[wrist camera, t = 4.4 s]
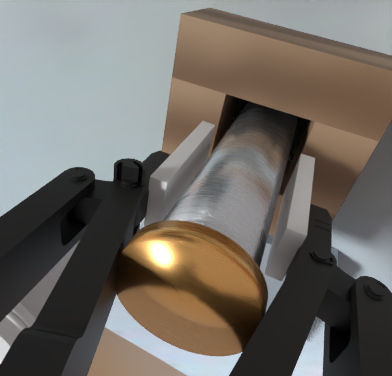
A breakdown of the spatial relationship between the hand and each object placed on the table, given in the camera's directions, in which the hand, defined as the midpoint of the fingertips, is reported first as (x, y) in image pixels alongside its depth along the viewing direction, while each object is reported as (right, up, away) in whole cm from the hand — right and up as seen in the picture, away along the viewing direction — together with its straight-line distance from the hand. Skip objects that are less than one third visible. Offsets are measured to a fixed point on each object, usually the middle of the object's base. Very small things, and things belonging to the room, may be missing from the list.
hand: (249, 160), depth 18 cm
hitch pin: (+2, +3, +5) cm, 7 cm away
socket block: (+2, +3, +5) cm, 7 cm away
